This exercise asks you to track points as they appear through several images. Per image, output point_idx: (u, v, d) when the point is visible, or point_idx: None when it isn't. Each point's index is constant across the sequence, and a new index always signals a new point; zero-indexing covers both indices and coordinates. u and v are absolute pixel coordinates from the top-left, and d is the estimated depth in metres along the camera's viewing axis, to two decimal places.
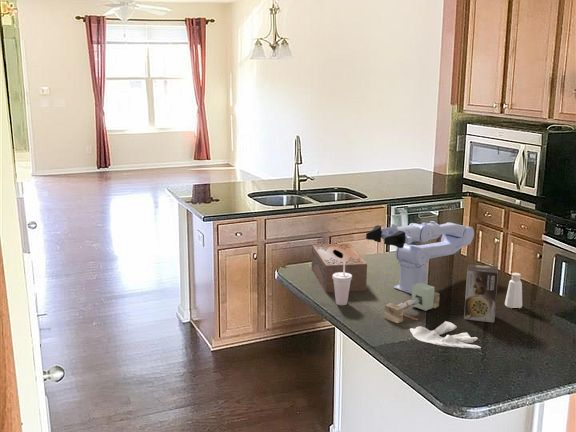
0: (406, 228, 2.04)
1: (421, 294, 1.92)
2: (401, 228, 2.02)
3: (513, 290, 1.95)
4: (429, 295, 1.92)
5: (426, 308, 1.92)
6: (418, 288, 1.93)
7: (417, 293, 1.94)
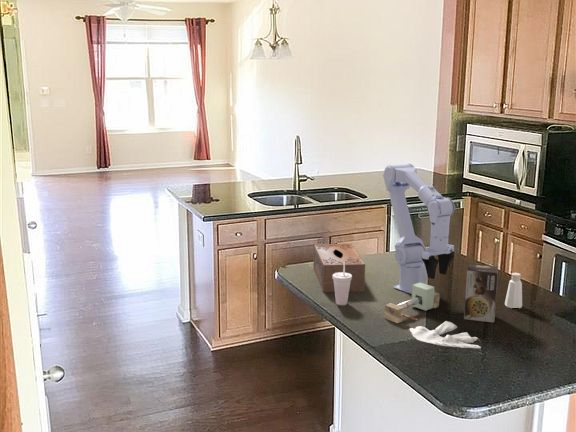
0: (448, 236, 1.94)
1: (421, 294, 1.92)
2: (447, 243, 1.94)
3: (513, 290, 1.95)
4: (429, 295, 1.92)
5: (426, 308, 1.92)
6: (418, 288, 1.93)
7: (417, 293, 1.94)
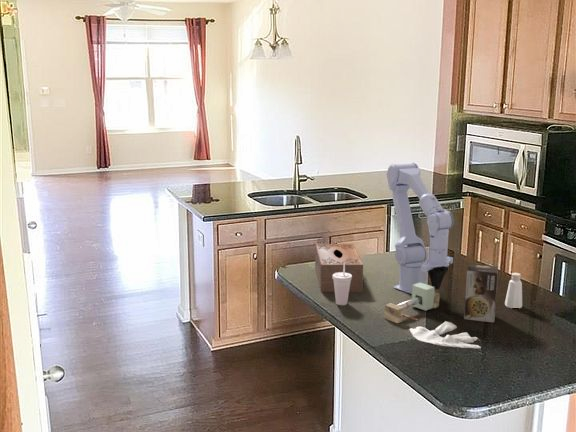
0: (447, 249, 1.95)
1: (421, 294, 1.92)
2: (446, 256, 1.95)
3: (513, 290, 1.95)
4: (429, 295, 1.92)
5: (426, 308, 1.92)
6: (418, 288, 1.93)
7: (417, 293, 1.94)
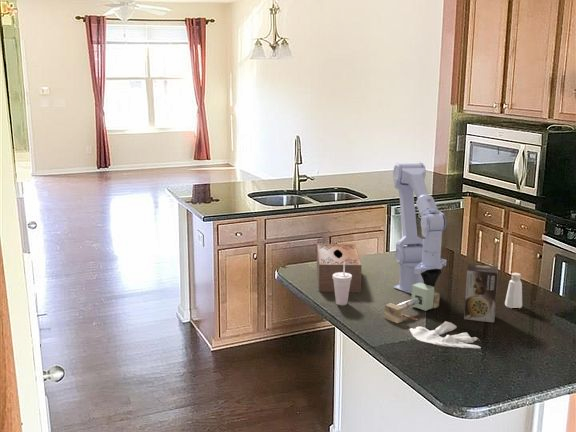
0: (440, 251, 1.92)
1: (421, 294, 1.92)
2: None
3: (513, 290, 1.95)
4: (428, 295, 1.92)
5: (426, 308, 1.92)
6: (418, 288, 1.93)
7: (417, 293, 1.94)
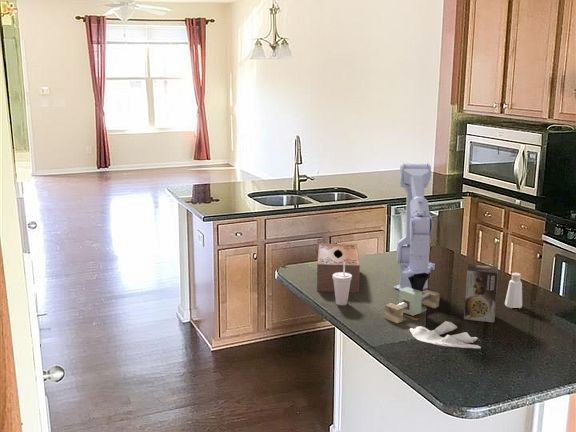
0: (428, 254, 1.88)
1: (408, 299, 1.88)
2: (427, 262, 1.89)
3: (513, 290, 1.95)
4: (416, 300, 1.88)
5: (413, 313, 1.88)
6: (405, 293, 1.89)
7: (404, 298, 1.89)
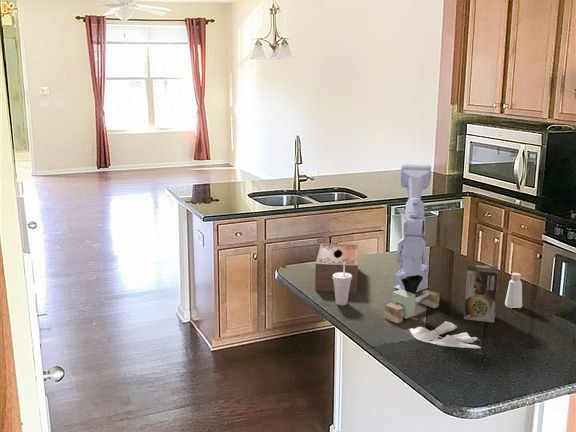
0: (421, 257, 1.86)
1: (401, 301, 1.86)
2: (421, 264, 1.87)
3: (513, 290, 1.95)
4: (409, 302, 1.86)
5: (407, 316, 1.86)
6: (398, 295, 1.87)
7: (397, 300, 1.87)
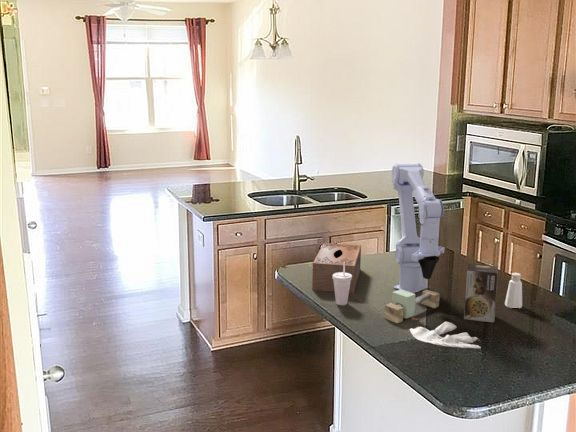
0: (438, 238, 1.92)
1: (401, 301, 1.86)
2: (437, 245, 1.92)
3: (513, 290, 1.95)
4: (409, 302, 1.86)
5: (406, 316, 1.86)
6: (398, 295, 1.87)
7: (397, 300, 1.87)
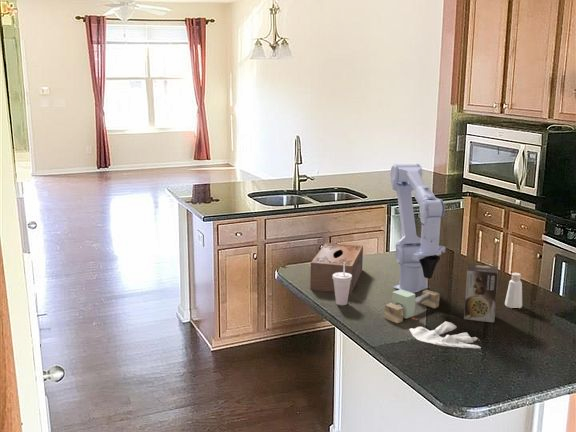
0: None
1: (401, 301, 1.86)
2: (438, 244, 1.93)
3: (513, 290, 1.95)
4: (409, 302, 1.86)
5: (406, 316, 1.86)
6: (398, 295, 1.87)
7: (397, 300, 1.87)
